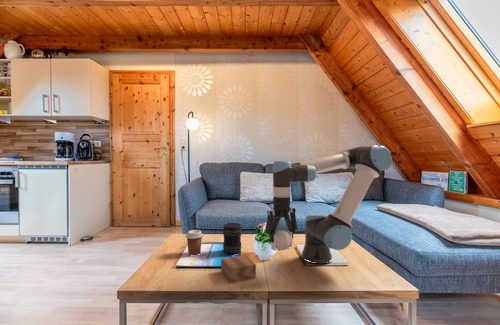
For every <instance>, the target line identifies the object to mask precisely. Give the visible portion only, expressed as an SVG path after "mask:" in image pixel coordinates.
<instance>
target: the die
mask: <svg viewBox="0 0 500 325" xmlns="http://www.w3.org/2000/svg"><path fill="white" fill-rule="evenodd" d="M274 235H276V241H275V242H276V250H278V251H280V252H281V251H286V250H289V249H290V248H291V247H290V244H291V242H292V243H293V240H294V237H293V238H292V237H291V236H290V235H289V234H288V233H287V230H286V229H283V230H276V231H275V234H274Z"/></svg>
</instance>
